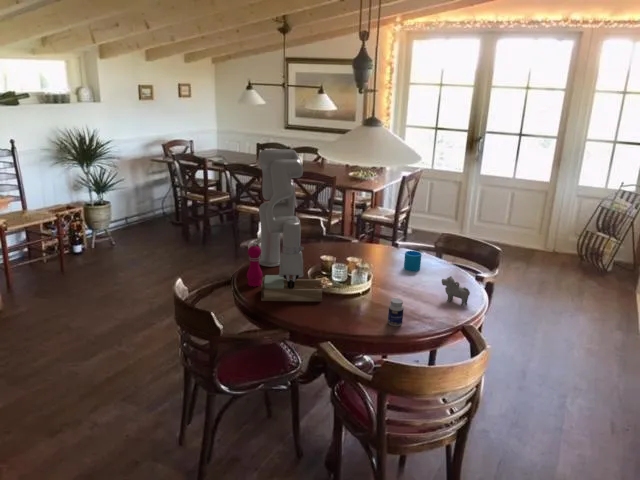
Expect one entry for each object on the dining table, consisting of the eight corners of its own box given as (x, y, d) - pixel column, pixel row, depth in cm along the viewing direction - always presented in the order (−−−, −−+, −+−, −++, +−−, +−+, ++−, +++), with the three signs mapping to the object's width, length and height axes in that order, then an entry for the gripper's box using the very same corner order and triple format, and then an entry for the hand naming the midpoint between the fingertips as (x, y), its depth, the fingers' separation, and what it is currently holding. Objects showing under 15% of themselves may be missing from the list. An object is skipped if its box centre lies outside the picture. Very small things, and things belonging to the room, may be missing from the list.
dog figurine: (442, 295, 236) (444, 273, 233) (470, 303, 229) (472, 280, 226) (437, 299, 232) (439, 276, 229) (465, 307, 225) (468, 284, 222)
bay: (262, 289, 236) (262, 276, 234) (320, 290, 238) (321, 277, 236) (261, 300, 225) (261, 287, 223) (321, 301, 226) (322, 288, 224)
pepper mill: (259, 288, 238) (259, 246, 231) (244, 286, 239) (244, 244, 233) (264, 282, 244) (264, 241, 238) (249, 280, 246) (249, 239, 240)
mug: (420, 272, 263) (422, 256, 260) (404, 271, 263) (405, 255, 261) (418, 263, 274) (420, 248, 272) (402, 262, 275) (404, 247, 272)
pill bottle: (390, 327, 206) (392, 304, 203) (385, 320, 211) (387, 297, 208) (404, 326, 207) (406, 303, 204) (399, 319, 212) (401, 297, 209)
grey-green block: (265, 287, 235) (265, 275, 233) (283, 288, 235) (283, 275, 233) (264, 296, 226) (264, 283, 224) (283, 296, 226) (283, 283, 224)
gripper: (308, 246, 228) (307, 285, 234) (274, 246, 228) (274, 285, 234) (309, 252, 221) (308, 292, 227) (273, 252, 221) (273, 292, 226)
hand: (290, 288), depth 230 cm, fingers closed
